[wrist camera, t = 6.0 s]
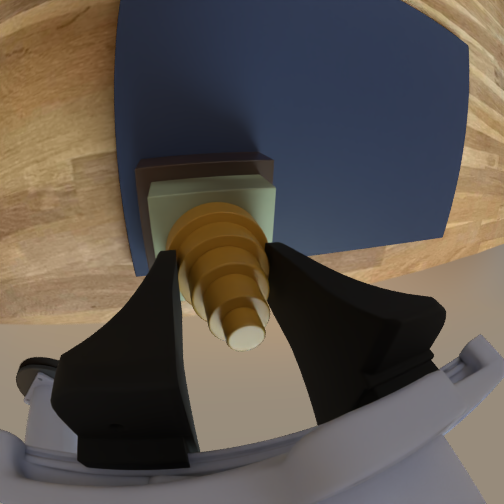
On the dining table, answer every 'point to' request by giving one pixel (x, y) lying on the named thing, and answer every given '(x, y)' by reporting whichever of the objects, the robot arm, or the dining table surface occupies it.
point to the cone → (224, 271)
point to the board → (300, 110)
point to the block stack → (201, 191)
